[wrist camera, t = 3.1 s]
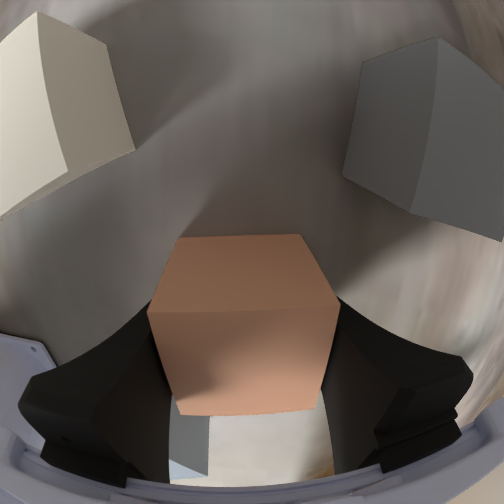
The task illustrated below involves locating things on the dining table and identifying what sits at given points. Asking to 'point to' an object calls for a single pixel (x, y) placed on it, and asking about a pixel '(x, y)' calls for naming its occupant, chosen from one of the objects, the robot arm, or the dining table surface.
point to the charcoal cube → (431, 136)
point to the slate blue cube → (188, 444)
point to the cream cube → (55, 110)
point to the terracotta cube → (243, 324)
